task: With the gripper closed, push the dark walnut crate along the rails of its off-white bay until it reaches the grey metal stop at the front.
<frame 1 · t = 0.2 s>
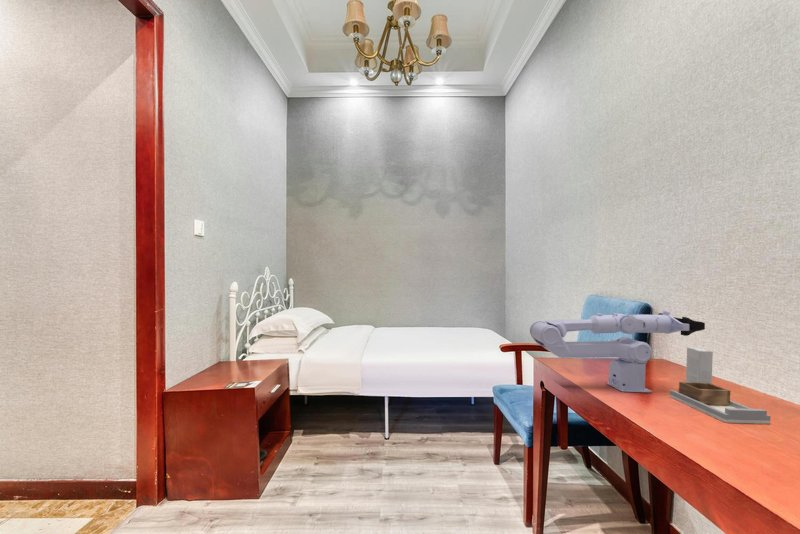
hand: (693, 324, 117), 21 cm above the table, tool horizontal, fingers open, 7 cm apart
crate: (703, 393, 105), point 3 cm above the table, slide at 0.0 cm
bay: (715, 409, 101), on the table
skincare box: (698, 385, 123), on the table
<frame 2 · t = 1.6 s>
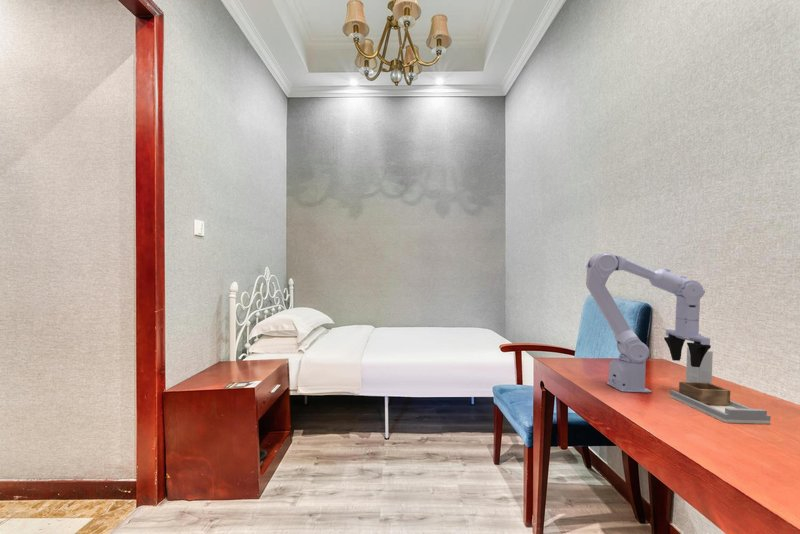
hand: (685, 363, 113), 9 cm above the table, tool pointing down, fingers open, 7 cm apart
nothing on the table moved.
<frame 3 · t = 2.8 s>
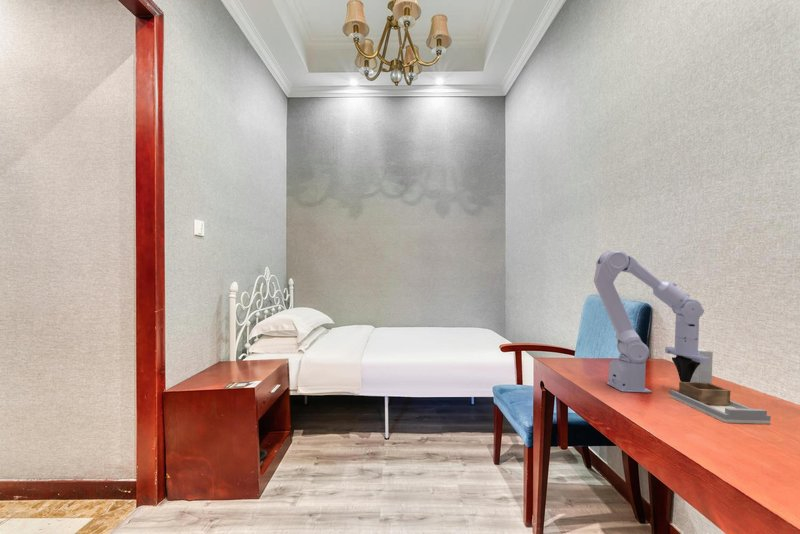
hand: (685, 382, 113), 4 cm above the table, tool pointing down, fingers closed
nothing on the table moved.
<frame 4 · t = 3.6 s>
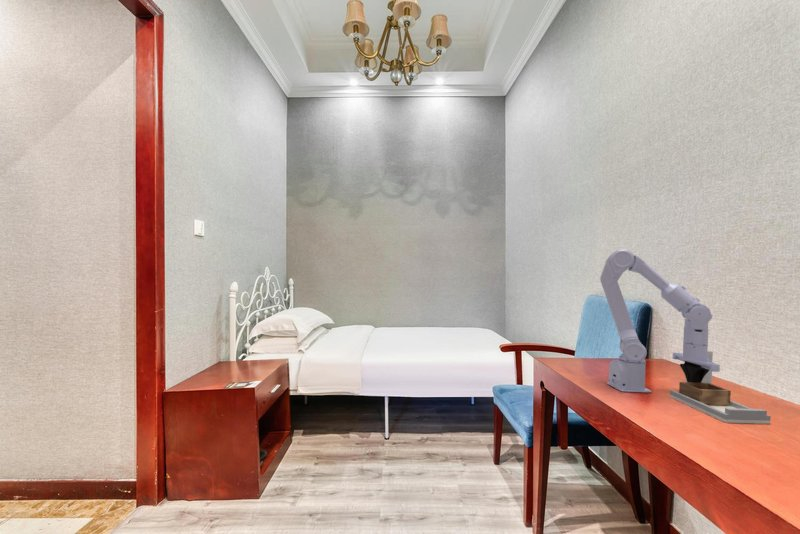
hand: (693, 389, 110), 3 cm above the table, tool pointing down, fingers closed
crate: (704, 393, 105), point 3 cm above the table, slide at 0.1 cm, touching gripper
everything else where it was.
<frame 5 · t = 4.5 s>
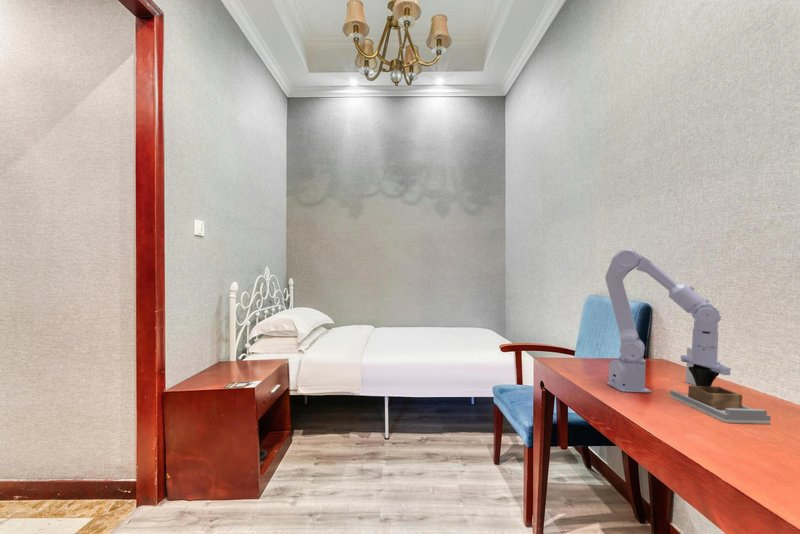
hand: (702, 393, 106), 3 cm above the table, tool pointing down, fingers closed
crate: (714, 397, 102), point 3 cm above the table, slide at 3.4 cm, touching gripper
everything else where it was.
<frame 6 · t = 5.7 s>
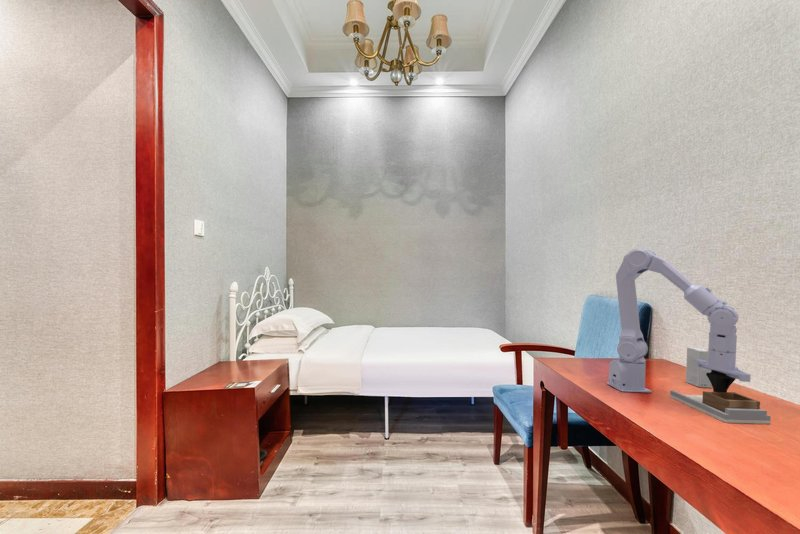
hand: (719, 399, 101), 3 cm above the table, tool pointing down, fingers closed
crate: (730, 404, 97), point 3 cm above the table, slide at 8.1 cm, touching gripper
everything else where it was.
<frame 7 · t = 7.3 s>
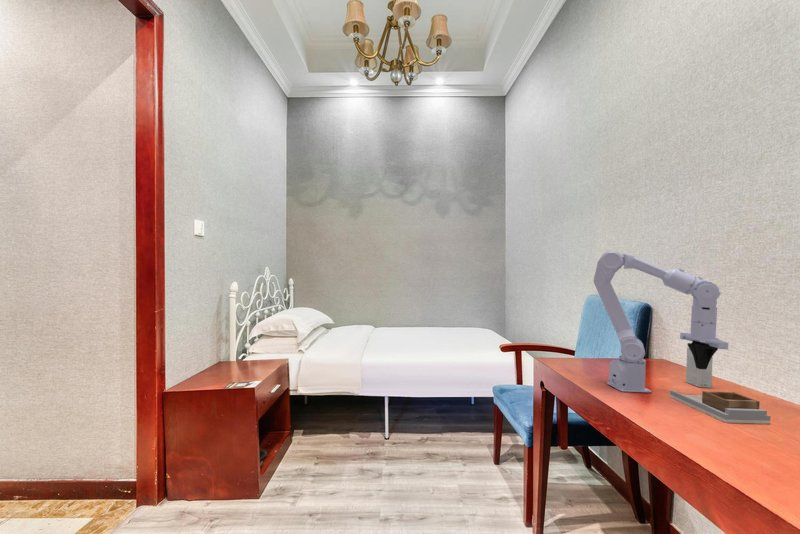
hand: (701, 368, 108), 9 cm above the table, tool pointing down, fingers closed
crate: (729, 403, 97), point 3 cm above the table, slide at 8.0 cm
everything else where it was.
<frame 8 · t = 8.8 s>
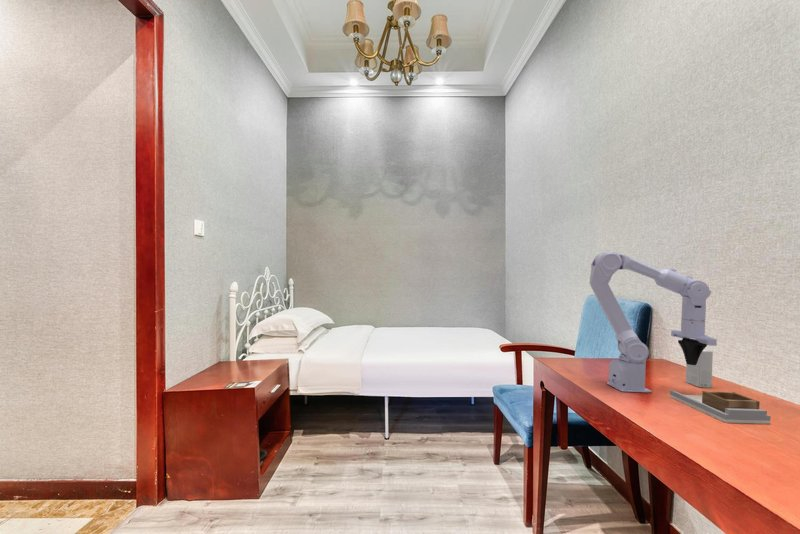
hand: (691, 364, 112), 9 cm above the table, tool pointing down, fingers closed
nothing on the table moved.
at the end: crate slide at 8.0 cm; skincare box moved 0.2 cm from its start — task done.
